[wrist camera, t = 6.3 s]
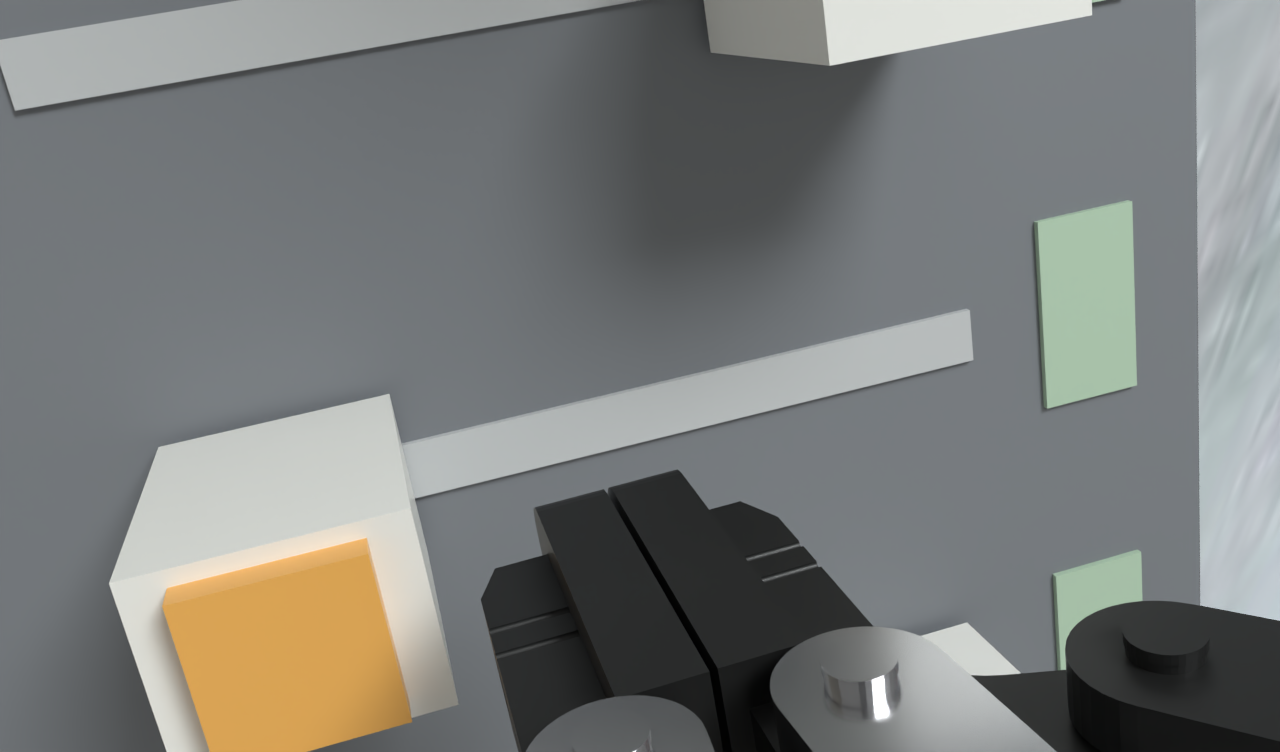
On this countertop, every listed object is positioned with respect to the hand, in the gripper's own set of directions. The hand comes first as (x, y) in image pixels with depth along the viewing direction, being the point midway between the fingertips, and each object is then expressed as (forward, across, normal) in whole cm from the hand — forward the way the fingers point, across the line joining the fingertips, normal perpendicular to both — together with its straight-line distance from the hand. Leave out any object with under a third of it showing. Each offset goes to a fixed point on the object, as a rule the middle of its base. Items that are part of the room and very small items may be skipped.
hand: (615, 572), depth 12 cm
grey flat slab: (+8, -1, 0) cm, 8 cm away
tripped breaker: (+5, +3, 0) cm, 6 cm away
